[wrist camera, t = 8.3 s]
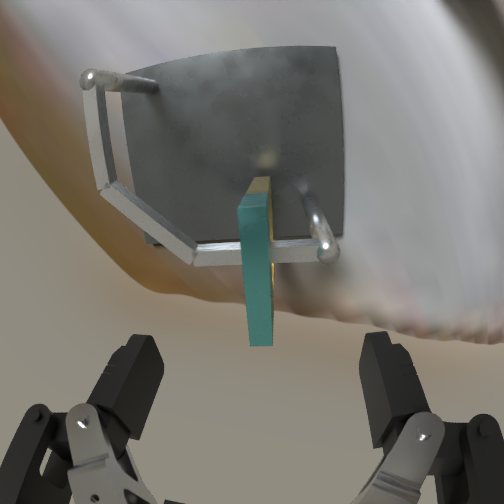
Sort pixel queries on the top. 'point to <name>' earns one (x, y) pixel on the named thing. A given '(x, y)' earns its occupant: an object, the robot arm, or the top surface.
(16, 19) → the top surface
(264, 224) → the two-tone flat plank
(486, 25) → the top surface
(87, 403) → the robot arm
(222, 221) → the rod stand
